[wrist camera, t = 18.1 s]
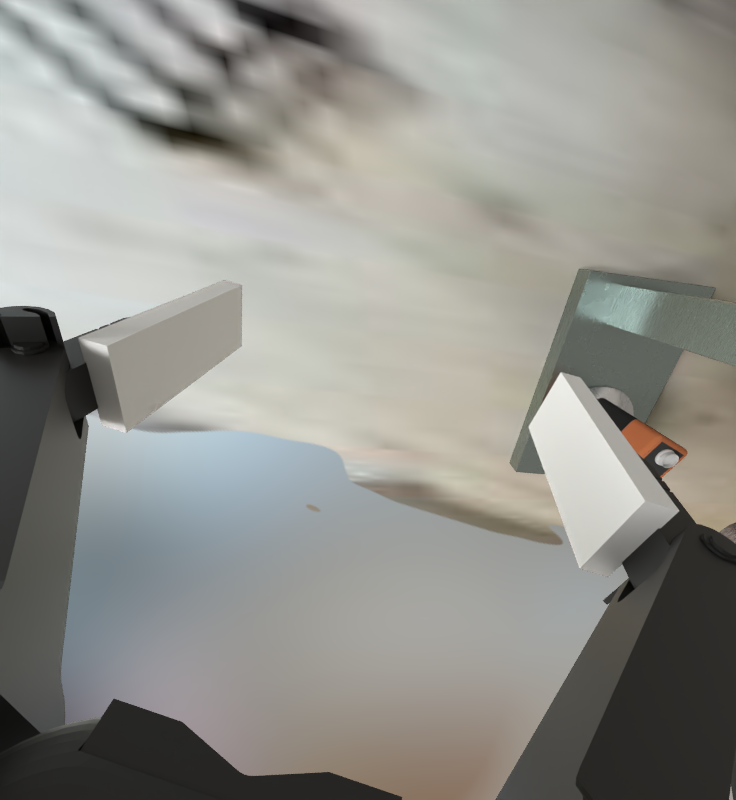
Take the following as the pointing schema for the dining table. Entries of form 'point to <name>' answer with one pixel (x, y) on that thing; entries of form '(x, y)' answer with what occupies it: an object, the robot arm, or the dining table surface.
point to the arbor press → (629, 345)
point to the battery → (645, 439)
